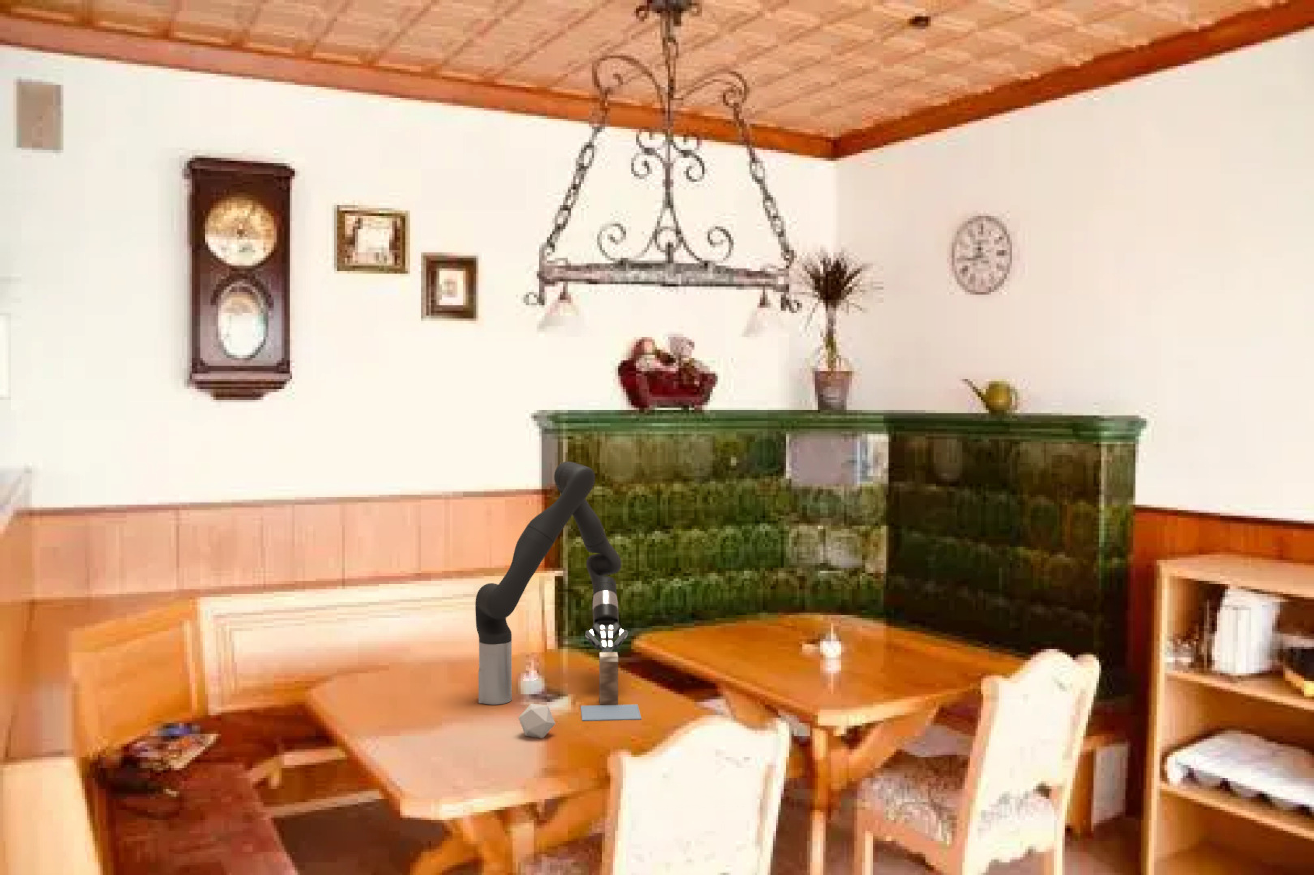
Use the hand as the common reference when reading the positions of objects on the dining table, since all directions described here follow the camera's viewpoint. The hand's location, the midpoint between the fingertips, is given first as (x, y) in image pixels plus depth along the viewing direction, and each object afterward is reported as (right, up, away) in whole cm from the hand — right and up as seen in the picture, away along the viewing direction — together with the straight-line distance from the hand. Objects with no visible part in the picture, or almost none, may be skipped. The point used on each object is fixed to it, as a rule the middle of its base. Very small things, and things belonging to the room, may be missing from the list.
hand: (607, 660), depth 327 cm
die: (-17, -13, -33) cm, 39 cm away
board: (+1, -12, -14) cm, 18 cm away
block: (0, -11, -4) cm, 12 cm away
